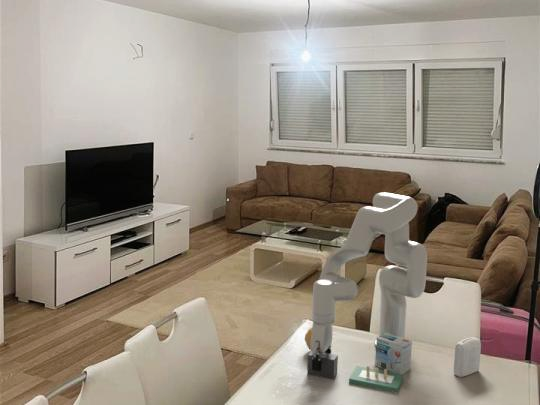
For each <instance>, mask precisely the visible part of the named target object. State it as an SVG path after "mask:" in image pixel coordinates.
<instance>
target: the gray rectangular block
mask: <svg viewBox="0 0 540 405" xmlns="http://www.w3.org/2000/svg"><path fill="white" fill-rule="evenodd" d="M317 354H318V356H319V354H320V353H317ZM338 358H339V356H338V355H337V354H334V353H331V354H329V353H322V357H321V360H322V370H321V372H319V371H315V370H312V351H311V350H310V352H309V353H308V354H307V366H306V367H307V370H306V371H307V373H306V374H307V375H311V376H315V377H319V378H325V379H329V380H335V378H336V377H337V375H338V362H339V361H338V360H339V359H338Z"/></svg>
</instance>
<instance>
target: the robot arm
mask: <svg viewBox="0 0 540 405" xmlns="http://www.w3.org/2000/svg"><path fill="white" fill-rule="evenodd" d="M418 209H419V208H418V203H417V201H416V200H415V199H414V198H413V197H412V196H408V195H402V194H395V193H391V192H378V193H376V194H375V195H373V198H372V206H367V205H366V206H362V207H360V209H358V211H357V212H356V215H355V218H354V220H353V222H352V225H351V228H350V230H349V233H348V235H347V238H346V240H345V243H344V244H343V245H342V246H341V247H340V248H338V249H337V250H336V251H335V252H333V253H332V254H331V255H330V256H329V257H328V259H327V260H326V261H325V263H324V265H323V267H322V270H321V273H320V276H319V279H318V280H316V281H314V282H313V287H312V311H311V321H312V326H311V328H312V333H311V344H310V349H309V350H310V352H311V351H312V370H315V371H319V372H321V370H322V360H321V357H322V353H329V354H332V342H333V324H334V323H335V318H336V317H335V315H336V302H348V301H351V300H353V299H354V298H355V297H356V296H357V294H358V291H359V289H358V285H357V283H356V282H355V281H354V280H352V279H350V278H347V277H346V276H345V277H344V276H342V275H339V274H338V273H339V271H340V269H341V268H342V267H343V266H344V265H345V264H346V263H347V262H350V261H351V260H354V259H357V258H361V257H365V256H366V255H368V253H369V251H370V248H371V247H372V243H373V241H374V239H375V236H376V234H382V235H384V236H385V237H384V239H385V240H384V257H385V259H386V260H387V261H388V262H389V263H393V264H395V265H386V266H384V267H382V269H381V270H380V271H379V275H378V284H379V289H380V311H379V312H380V313H379V333H378V337H379V336H381V335H383V334H385V333H390V334H393V335H396V336H399V337H402V338H405V339H406V325H407V324H406V321H407V305H408V304H407V299H406V297H408V298H411V299H417V298H420V297H421V296H422V295H423V293H424V292H425V289H426V283H427V282H426V281H427V268H428V253H427V250H426V247H425V246H424V245H423V244H422V243H419V242H417V241H412V240H410V224H409V222H411V221H412V219H414V218H415V217H416V215H417V212H418ZM400 266H403V267H400ZM405 267H406V268H405ZM376 341H377V339H376V340H375V341H374V346H375V348H376ZM318 349H320V350H321V351H319V350H318ZM317 353H320V354H319V356H318V354H317Z"/></svg>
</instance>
